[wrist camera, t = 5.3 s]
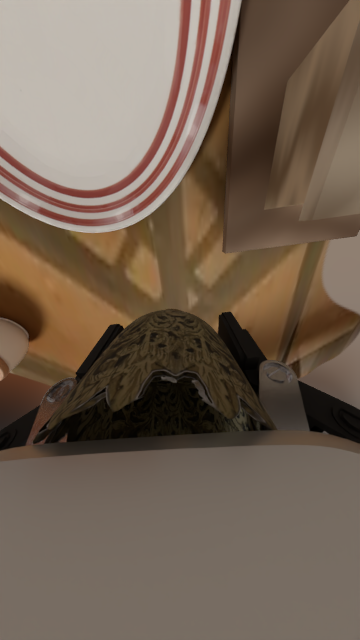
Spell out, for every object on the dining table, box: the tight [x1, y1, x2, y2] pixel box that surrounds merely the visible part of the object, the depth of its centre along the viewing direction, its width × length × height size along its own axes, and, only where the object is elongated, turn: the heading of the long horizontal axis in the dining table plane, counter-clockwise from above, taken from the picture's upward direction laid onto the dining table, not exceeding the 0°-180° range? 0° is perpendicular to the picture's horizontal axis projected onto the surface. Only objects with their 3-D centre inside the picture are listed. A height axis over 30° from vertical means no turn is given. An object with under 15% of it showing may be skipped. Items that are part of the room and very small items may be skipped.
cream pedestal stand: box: [222, 0, 360, 253], centre depth 10 cm, size 16×16×10 cm
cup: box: [32, 309, 278, 444], centre depth 8 cm, size 8×7×8 cm
